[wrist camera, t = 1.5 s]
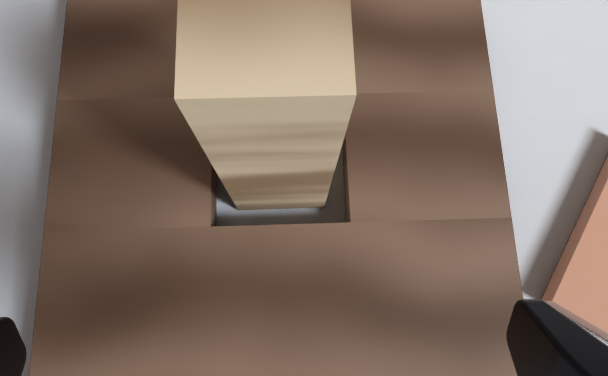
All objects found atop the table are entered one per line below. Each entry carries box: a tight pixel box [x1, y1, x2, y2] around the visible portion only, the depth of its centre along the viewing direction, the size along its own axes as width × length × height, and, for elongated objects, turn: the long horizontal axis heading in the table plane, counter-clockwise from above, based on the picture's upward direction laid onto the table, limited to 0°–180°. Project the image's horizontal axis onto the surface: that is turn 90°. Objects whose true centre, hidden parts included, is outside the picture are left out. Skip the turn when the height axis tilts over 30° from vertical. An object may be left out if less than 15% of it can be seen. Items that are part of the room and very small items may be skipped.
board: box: [29, 0, 523, 376], centre depth 22 cm, size 20×20×2 cm
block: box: [174, 0, 357, 210], centre depth 17 cm, size 4×4×12 cm
